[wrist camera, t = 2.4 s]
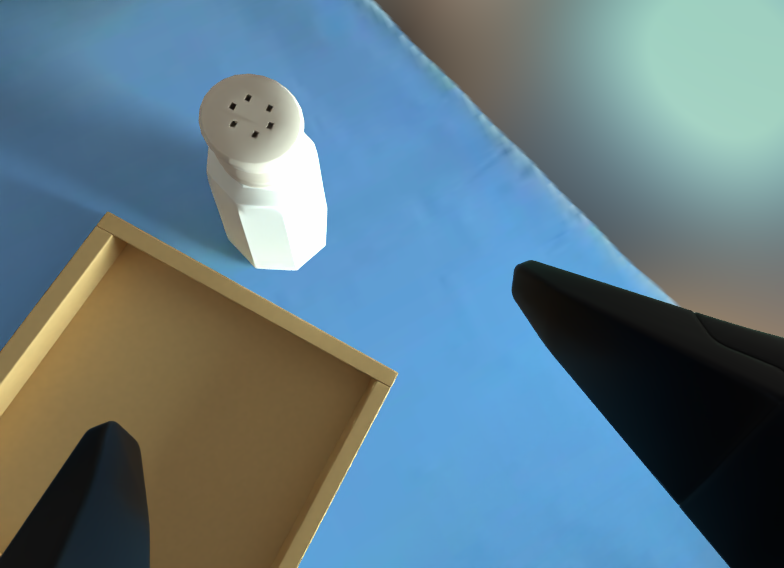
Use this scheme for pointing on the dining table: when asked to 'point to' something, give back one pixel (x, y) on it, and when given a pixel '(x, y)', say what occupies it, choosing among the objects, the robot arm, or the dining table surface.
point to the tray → (185, 401)
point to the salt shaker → (263, 172)
